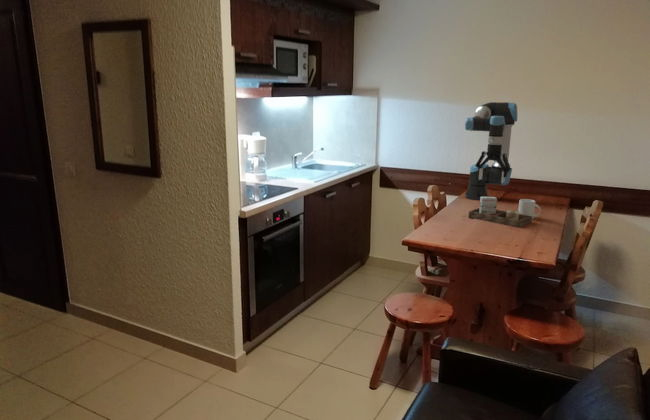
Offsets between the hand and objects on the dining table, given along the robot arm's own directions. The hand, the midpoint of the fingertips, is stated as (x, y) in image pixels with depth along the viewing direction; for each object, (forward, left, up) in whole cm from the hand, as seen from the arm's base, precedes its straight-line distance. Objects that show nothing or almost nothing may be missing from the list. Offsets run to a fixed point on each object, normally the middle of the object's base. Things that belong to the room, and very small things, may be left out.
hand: (491, 181), depth 275 cm
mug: (+18, +15, -22) cm, 32 cm away
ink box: (0, -1, -21) cm, 21 cm away
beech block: (+15, -1, -21) cm, 26 cm away
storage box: (+8, -1, -22) cm, 23 cm away
